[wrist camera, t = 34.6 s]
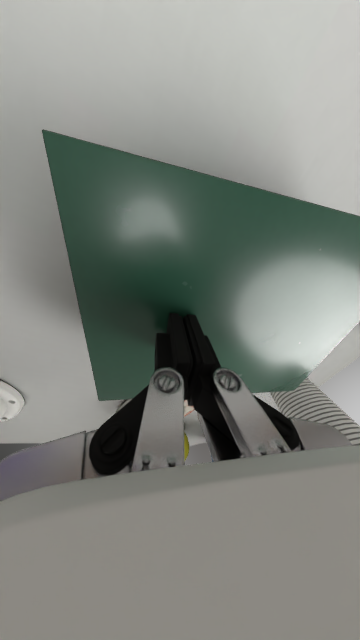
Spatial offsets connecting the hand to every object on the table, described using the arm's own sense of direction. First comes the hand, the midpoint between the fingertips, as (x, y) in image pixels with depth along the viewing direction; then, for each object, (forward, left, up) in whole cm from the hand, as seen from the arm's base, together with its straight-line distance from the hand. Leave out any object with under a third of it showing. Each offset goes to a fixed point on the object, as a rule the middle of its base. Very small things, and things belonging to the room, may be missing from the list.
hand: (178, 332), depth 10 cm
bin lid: (+4, 0, -1) cm, 5 cm away
